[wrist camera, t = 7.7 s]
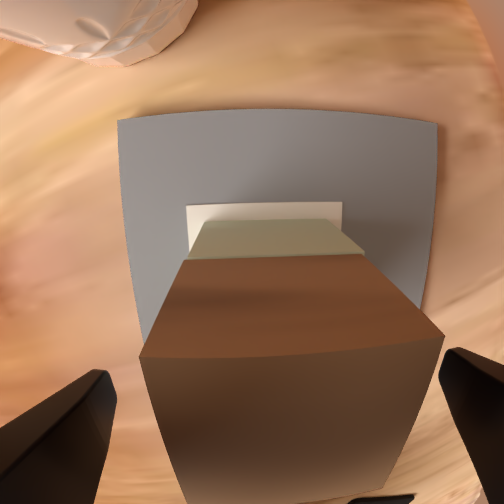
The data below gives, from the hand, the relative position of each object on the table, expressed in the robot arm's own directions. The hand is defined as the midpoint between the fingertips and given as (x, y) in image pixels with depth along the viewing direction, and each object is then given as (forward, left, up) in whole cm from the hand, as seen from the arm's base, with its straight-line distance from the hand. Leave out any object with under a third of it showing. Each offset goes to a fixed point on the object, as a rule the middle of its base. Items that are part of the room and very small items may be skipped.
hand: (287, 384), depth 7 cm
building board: (-1, -1, -8) cm, 8 cm away
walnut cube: (0, 0, -2) cm, 2 cm away
